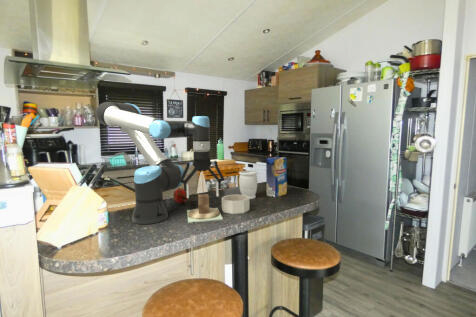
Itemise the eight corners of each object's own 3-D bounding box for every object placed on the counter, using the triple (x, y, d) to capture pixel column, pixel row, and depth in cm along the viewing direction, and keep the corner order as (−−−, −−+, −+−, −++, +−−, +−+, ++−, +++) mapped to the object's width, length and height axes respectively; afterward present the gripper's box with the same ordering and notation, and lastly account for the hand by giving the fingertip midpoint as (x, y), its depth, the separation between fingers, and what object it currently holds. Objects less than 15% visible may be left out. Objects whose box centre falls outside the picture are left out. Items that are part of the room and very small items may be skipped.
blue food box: (286, 193, 164) (286, 157, 161) (275, 197, 156) (275, 159, 154) (277, 192, 169) (277, 156, 166) (266, 195, 161) (266, 158, 158)
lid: (188, 220, 117) (187, 200, 116) (187, 210, 131) (187, 192, 130) (221, 217, 120) (221, 198, 119) (217, 208, 134) (216, 190, 133)
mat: (188, 223, 116) (188, 221, 116) (187, 211, 132) (187, 210, 132) (222, 220, 119) (222, 218, 119) (217, 208, 135) (217, 207, 135)
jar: (257, 195, 161) (257, 170, 160) (257, 199, 151) (257, 173, 149) (240, 195, 162) (239, 170, 161) (238, 199, 152) (238, 173, 150)
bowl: (224, 214, 126) (224, 202, 125) (220, 206, 139) (220, 195, 138) (251, 212, 129) (251, 200, 128) (245, 205, 141) (244, 193, 141)
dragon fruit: (179, 202, 155) (185, 210, 145) (167, 195, 151) (173, 203, 141) (187, 189, 156) (194, 197, 146) (176, 182, 152) (182, 190, 141)
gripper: (173, 152, 116) (174, 200, 118) (230, 150, 121) (230, 197, 124) (173, 150, 123) (175, 196, 126) (227, 149, 128) (227, 193, 131)
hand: (202, 196), depth 125 cm, fingers open, 13 cm apart
